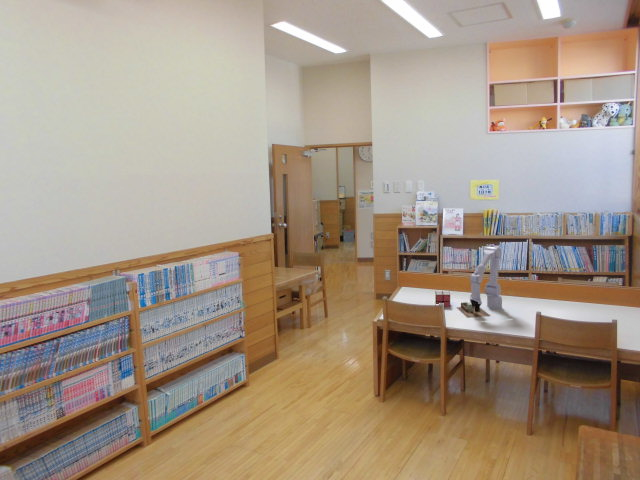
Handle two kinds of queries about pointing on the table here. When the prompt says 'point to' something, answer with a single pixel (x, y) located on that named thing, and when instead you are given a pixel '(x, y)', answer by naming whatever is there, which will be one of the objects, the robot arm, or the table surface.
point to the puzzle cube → (442, 298)
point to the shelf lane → (471, 314)
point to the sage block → (470, 307)
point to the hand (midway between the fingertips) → (475, 310)
